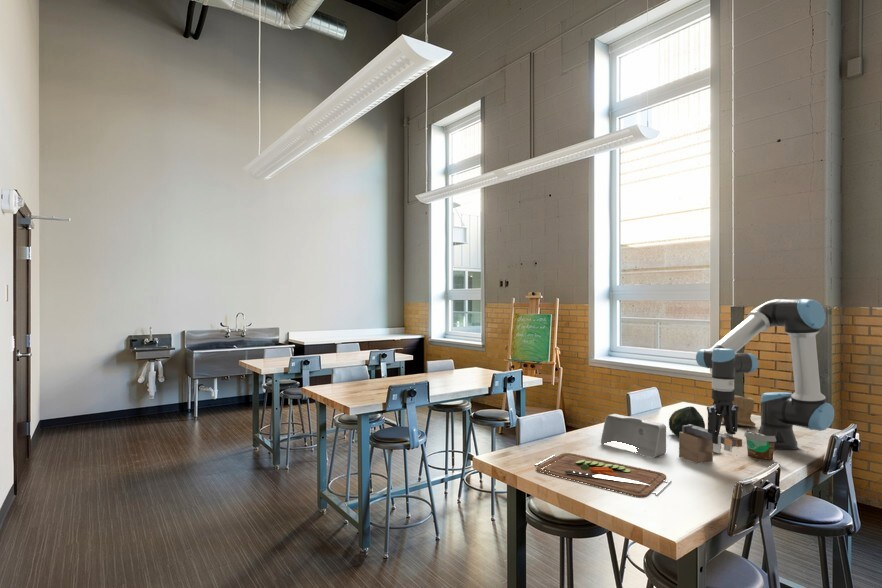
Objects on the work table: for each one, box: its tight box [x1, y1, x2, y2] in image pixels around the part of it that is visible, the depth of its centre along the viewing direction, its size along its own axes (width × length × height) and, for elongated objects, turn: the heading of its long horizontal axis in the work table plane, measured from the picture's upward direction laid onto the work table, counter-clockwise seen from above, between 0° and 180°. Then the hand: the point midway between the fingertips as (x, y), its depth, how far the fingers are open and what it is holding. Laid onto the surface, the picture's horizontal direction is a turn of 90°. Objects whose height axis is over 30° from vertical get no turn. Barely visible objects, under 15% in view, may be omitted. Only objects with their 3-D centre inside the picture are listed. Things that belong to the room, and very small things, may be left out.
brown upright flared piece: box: [721, 394, 756, 427], centre depth 257 cm, size 15×12×15 cm
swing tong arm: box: [686, 424, 736, 448], centre depth 194 cm, size 2×21×3 cm, turn 20°
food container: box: [743, 428, 776, 462], centre depth 204 cm, size 12×6×10 cm, turn 21°
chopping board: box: [535, 452, 672, 498], centre depth 184 cm, size 45×27×3 cm, turn 51°
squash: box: [668, 405, 706, 437], centre depth 235 cm, size 14×15×15 cm
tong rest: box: [678, 425, 743, 464], centre depth 195 cm, size 8×23×13 cm, turn 20°
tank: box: [600, 413, 667, 459], centre depth 217 cm, size 25×16×12 cm, turn 39°
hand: (722, 451), depth 190 cm, fingers open, 5 cm apart
